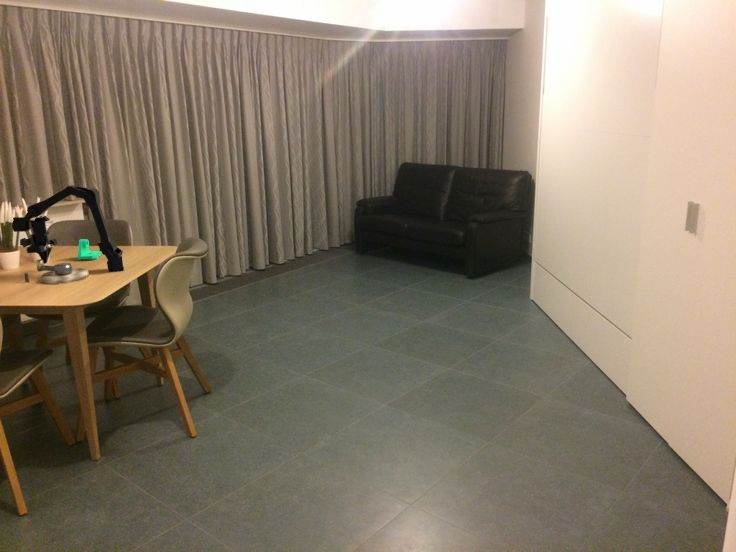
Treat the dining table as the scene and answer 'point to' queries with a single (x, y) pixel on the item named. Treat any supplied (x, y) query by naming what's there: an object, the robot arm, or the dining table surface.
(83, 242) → the camera mount
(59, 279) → the leveling base
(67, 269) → the knob
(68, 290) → the dining table surface
